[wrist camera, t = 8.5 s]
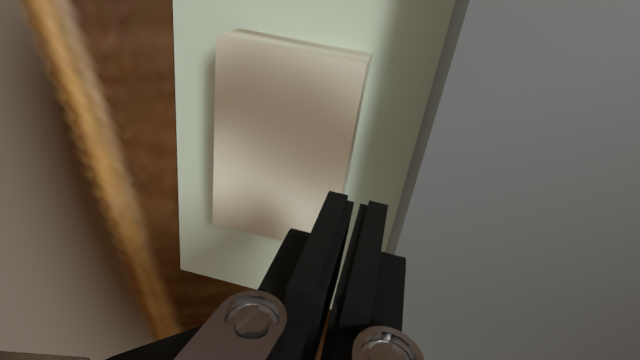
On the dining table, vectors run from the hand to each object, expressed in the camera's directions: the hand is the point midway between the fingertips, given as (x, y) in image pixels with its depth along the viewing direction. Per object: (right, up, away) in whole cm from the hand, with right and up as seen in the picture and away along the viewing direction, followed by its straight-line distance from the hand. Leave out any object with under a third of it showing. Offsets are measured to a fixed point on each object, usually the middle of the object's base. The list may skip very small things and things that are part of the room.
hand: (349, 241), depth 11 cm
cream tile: (-3, +3, +6) cm, 7 cm away
